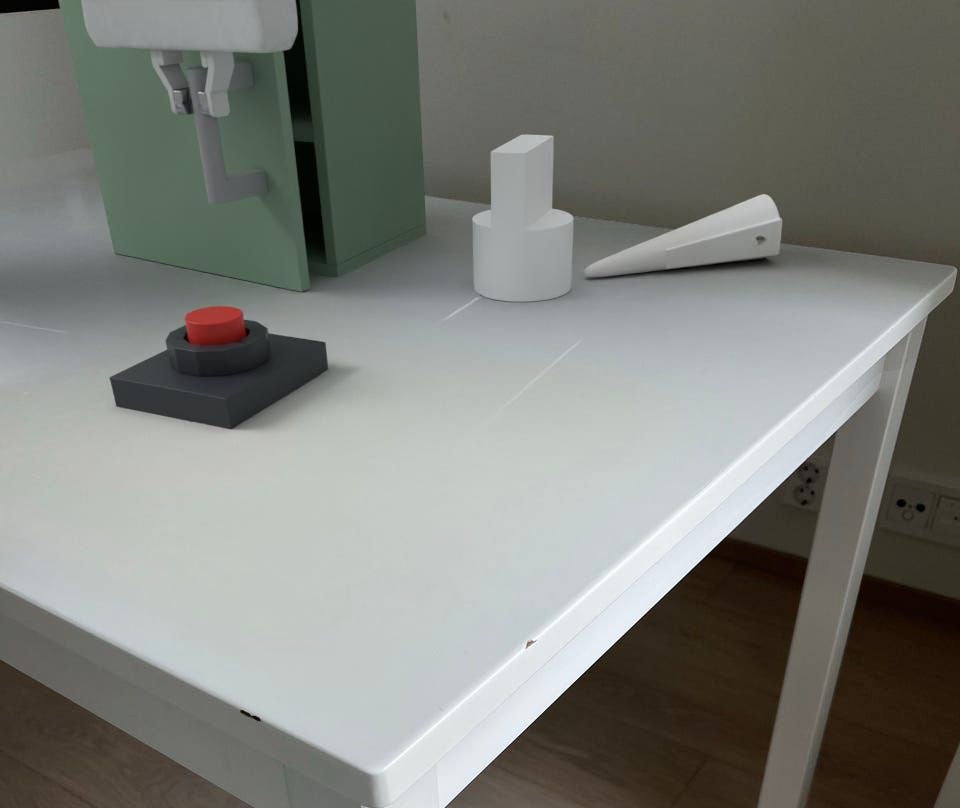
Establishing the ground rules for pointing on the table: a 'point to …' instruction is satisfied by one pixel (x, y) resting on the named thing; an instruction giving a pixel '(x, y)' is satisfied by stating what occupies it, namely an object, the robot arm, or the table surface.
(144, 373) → the button box
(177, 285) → the table surface
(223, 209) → the door
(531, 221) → the cylinder with rectangular tab
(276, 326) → the table surface
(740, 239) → the white tapered wedge
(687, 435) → the table surface
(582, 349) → the table surface
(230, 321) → the button
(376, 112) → the cupboard
